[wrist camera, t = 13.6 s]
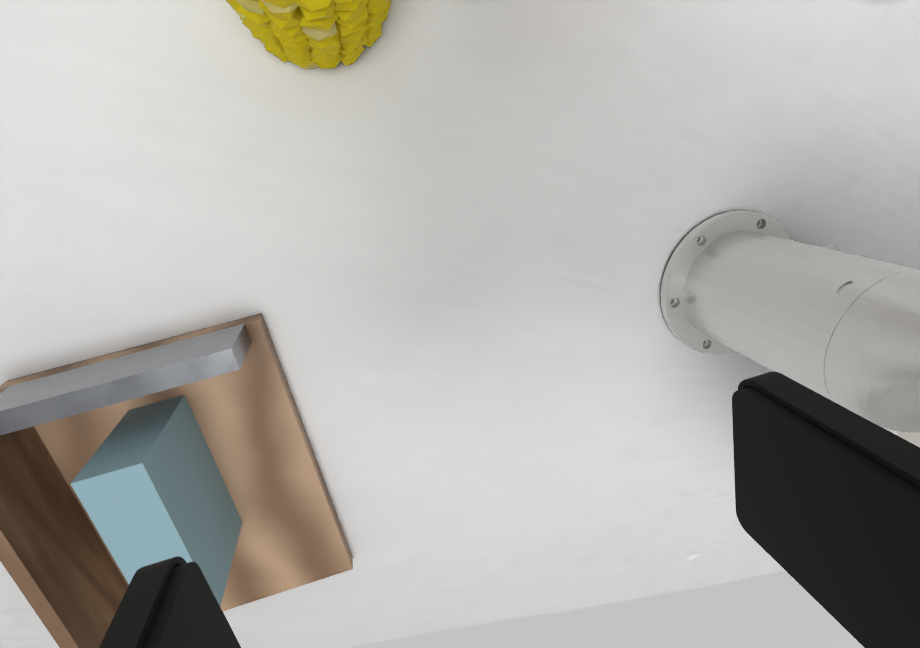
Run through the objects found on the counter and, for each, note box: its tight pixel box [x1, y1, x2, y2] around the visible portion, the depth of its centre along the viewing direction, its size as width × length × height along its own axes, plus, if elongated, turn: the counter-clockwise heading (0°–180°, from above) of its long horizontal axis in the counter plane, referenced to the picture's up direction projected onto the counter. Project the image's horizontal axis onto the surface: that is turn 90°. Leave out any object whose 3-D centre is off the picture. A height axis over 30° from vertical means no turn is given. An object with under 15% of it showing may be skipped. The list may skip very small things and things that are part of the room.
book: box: [70, 395, 243, 606], centre depth 37 cm, size 4×12×9 cm, turn 13°
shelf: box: [0, 314, 353, 648], centre depth 40 cm, size 18×24×8 cm
